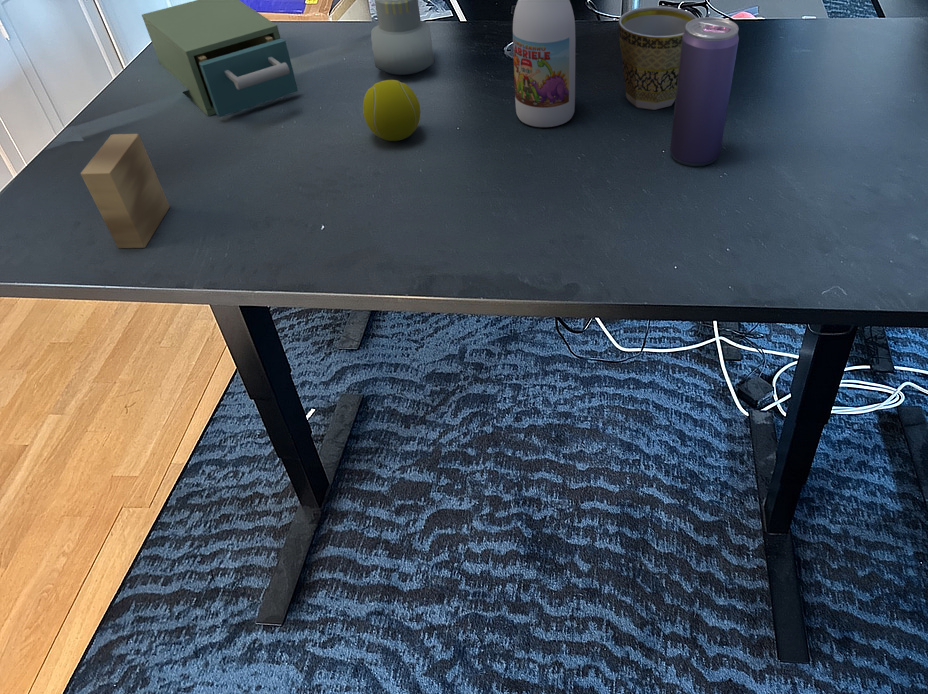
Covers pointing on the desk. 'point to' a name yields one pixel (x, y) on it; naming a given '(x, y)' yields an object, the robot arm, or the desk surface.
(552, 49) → the milk bottle
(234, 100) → the drawer
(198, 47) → the cabinet
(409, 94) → the tennis ball
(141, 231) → the wooden block
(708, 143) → the beverage can
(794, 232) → the desk surface
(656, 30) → the ceramic cup
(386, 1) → the air freshener
